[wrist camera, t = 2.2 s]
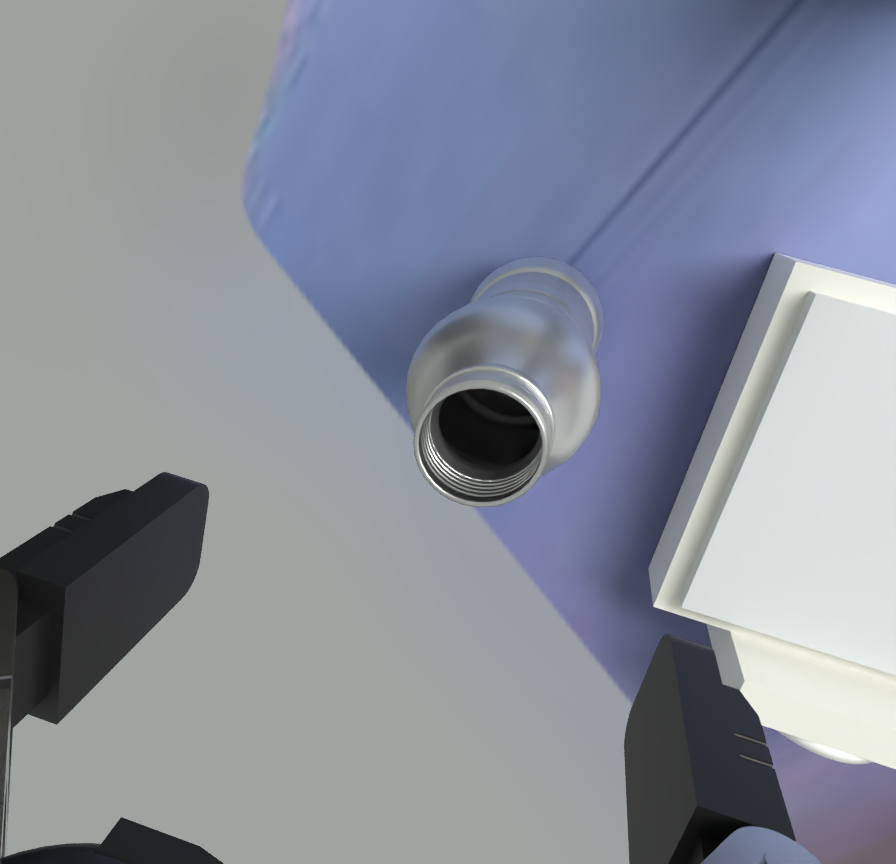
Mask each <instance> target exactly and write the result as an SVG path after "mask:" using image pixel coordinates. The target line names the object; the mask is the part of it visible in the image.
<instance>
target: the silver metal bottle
mask: <svg viewBox="0 0 896 864" xmlns="http://www.w3.org/2000/svg"><path fill="white" fill-rule="evenodd" d="M603 329H604V313H603V308H602V304H601V300H600V298H599V296H598V294H597V291H596V289H595V288H594V287H593V285H592V284H591V282H590V281H589V280H588V278H586V277H585V276H584V275H583V274H582V273H581V272H580V271H579V270H577V269H576V268H574V267H572V266H571V265H569V264H567V263H565V262H562V261H559V260H556V259H553V258H546V257H527V258H521V259H518V260H514V261H511V262H509V263H507V264H505V265H503V266H501V267H499V268H497V269H496V270H495V271H493V272H492V273H491V274H489V275H488V276H487V277H486V278H485V279H484V280H483V282H482V283H481V284H480V285H479V286H478V288H477V289H476V291H475V293H474V294H473V296H472V298H471V301H470V304H468V305H466V306H464V307H461V308H459V309H457V310H455V311H454V312H452V313H450V314H449V315H447V316H446V317H445V318H443V319H442V320H441V321H439V322H438V323H437V324H435V325H434V326H433V328H432V329H431V330H430V331H429V332H428V333H427V334H426V335H425V336H424V338H423V339H422V341H421V342H420V344H419V346H418V348H417V349H416V351H415V353H414V355H413V358H412V361H411V364H410V367H409V370H408V375H407V384H406V395H407V406H408V414H409V417H410V421H411V424H412V427H413V430H414V432H415V434H414V454H415V458H416V461H417V464H418V467H419V469H420V471H421V472H422V474H423V476H424V478H425V479H426V480H427V481H428V482H429V484H430V485H431V486H432V487H433V488H434V489H435V490H437V491H438V492H439V493H440V494H441V495H443V496H445V497H447V498H448V499H450V500H452V501H455V502H458V503H460V504H463V505H468V506H473V507H492V506H498V505H502V504H505V503H508V502H510V501H513V500H515V499H517V498H518V497H520V496H521V495H523V494H525V493H526V492H527V491H528V490H529V489H530V488H531V487H532V486H533V485H534V484H535V483H536V481H537V480H538V478H539V477H540V476H543V475H545V474H546V473H548V472H550V471H551V470H553V469H555V468H556V467H558V466H559V465H561V464H562V463H564V462H565V461H566V460H567V459H568V458H570V457H571V456H572V455H573V454H574V453H575V452H576V451H577V450H578V449H579V448H580V447H581V445H582V444H583V442H584V441H585V440H586V438H587V437H588V436H589V434H590V432H591V430H592V428H593V425H594V423H595V421H596V419H597V415H598V411H599V406H600V401H601V380H600V375H599V371H598V366H597V362H596V358H595V353H596V351H597V349H598V347H599V344H600V342H601V339H602V334H603Z"/></svg>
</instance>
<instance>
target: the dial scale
mask: <svg viewBox="0 0 896 864" xmlns="http://www.w3.org/2000/svg"><path fill="white" fill-rule="evenodd" d="M648 570H649V578H650V585H651V593H652V601H653V607H656V608H659V609H662V610H665V611H668V612H672V613H675V614H678V615H681V616H684V617H687V618H690V619H694V620H697V621H700V622H703V623H706V624H707V628H708V632H709V637H710V641H711V645H712V649H713V650H714V652H715V656H716V660H717V664H718V668H719V672H720V676H721V680H722V684H723V685H727V686H730V687H733V688H736V689H739V690H740V692H741V693H742V694H743V696H744V697H745V698H746V700H747V701H748V702H749V704H750V705H751V706H752V708H753V709H754V710H755V712H756V713H757V714H758V716H759V719H760V722H761V725H763V726H766V727H769V728H772V729H775V730H777V731H779V732H780V733H781V734H783V735H784V736H785V737H787V738H788V739H790V740H791V741H793V742H795V743H796V744H798V745H800V746H802V747H803V748H805V749H807V750H809V751H811V752H814V753H816V754H818V755H820V756H823V757H826V758H828V759H831V760H835V761H838V762H843V763H848V764H867V763H871V762H875V763H878V764H881V765H884V766H888V767H891V768H894V769H896V285H895V284H891V283H887V282H883V281H880V280H876V279H872V278H868V277H865V276H861V275H857V274H854V273H850V272H846V271H842V270H839V269H835V268H831V267H827V266H824V265H820V264H816V263H812V262H809V261H805V260H801V259H798V258H794V257H790V256H786V255H783V254H779V253H775V254H774V257H773V259H772V262H771V264H770V267H769V269H768V272H767V274H766V277H765V279H764V282H763V284H762V287H761V289H760V292H759V294H758V297H757V299H756V302H755V304H754V307H753V309H752V312H751V314H750V316H749V319H748V321H747V324H746V326H745V329H744V331H743V334H742V336H741V339H740V341H739V344H738V346H737V349H736V351H735V354H734V356H733V359H732V361H731V364H730V366H729V369H728V371H727V374H726V376H725V379H724V381H723V384H722V386H721V389H720V391H719V394H718V396H717V399H716V401H715V404H714V406H713V409H712V411H711V414H710V416H709V419H708V421H707V424H706V426H705V429H704V431H703V433H702V436H701V438H700V441H699V443H698V446H697V448H696V451H695V453H694V456H693V458H692V461H691V463H690V466H689V468H688V471H687V473H686V476H685V478H684V481H683V483H682V486H681V488H680V491H679V493H678V496H677V498H676V501H675V503H674V506H673V508H672V511H671V513H670V516H669V518H668V521H667V523H666V526H665V528H664V531H663V533H662V536H661V538H660V541H659V543H658V546H657V548H656V550H655V553H654V555H653V558H652V560H651V563H650V565H649V568H648Z"/></svg>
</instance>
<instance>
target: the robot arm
mask: <svg viewBox="0 0 896 864" xmlns="http://www.w3.org/2000/svg"><path fill="white" fill-rule="evenodd" d="M208 500H209V491H208V488H207V486H206V485H204V484H202V483H198V482H195V481H192V480H189V479H186V478H183V477H180V476H176V475H173V474H170V473H167V472H163V473H160V474H159V475H157V476H156V477H154V478H153V479H151V480H150V481H148V482H147V483H145V484H144V485H142V486H141V487H139V488H138V489H136V490H135V491H129V490H126V489H124V490H121V491H117V492H114V493H110V494H106V495H103V496H99V497H96V498H94V499H92V500H91V501H89V502H88V503H86V504H85V505H83V506H81V507H80V508H78V509H77V510H75V511H73V514H72V515H67V516H66V517H64V518H62V519H61V520H59V521H58V522H56V523H55V525H54V527H49V528H47V529H45V530H43V531H42V532H40V533H39V534H37V535H36V536H34V537H33V538H31V539H29V540H28V541H26V542H25V543H23V544H22V545H20V546H19V547H17V548H15V549H14V550H12V551H10V552H9V553H7V554H6V555H4V556H3V557H1V558H0V864H223V863H222V862H221V861H219V860H218V859H217V858H215V857H213V856H212V855H211V854H210V853H208V852H207V851H205V850H204V849H203V848H201V847H200V846H197V845H195V844H192V843H189V842H187V841H184V840H181V839H178V838H176V837H173V836H170V835H168V834H165V833H162V832H159V831H157V830H154V829H151V828H149V827H146V826H143V825H140V824H138V823H135V822H133V821H130V820H127V819H124V818H122V817H121V818H120V820H119V821H118V822H117V824H116V825H115V826H114V828H113V829H112V830H111V832H110V833H109V834H108V836H107V837H106V838H105V840H104V841H103V842H102V844H94V843H78V844H77V843H76V844H75V843H74V844H61V845H53V846H45V847H40V848H36V849H31V850H27V851H22V852H19V853H16V854H12V855H9V856H6V849H7V830H8V812H9V795H10V776H11V758H12V740H13V727H14V726H15V725H17V724H18V723H19V721H21V720H22V719H23V718H24V717H25V716H26V715H27V714H29V715H32V716H34V717H37V718H40V719H43V720H46V721H48V722H51V723H54V724H58V723H59V722H60V721H61V720H62V719H63V718H64V717H65V716H66V715H67V714H68V713H69V712H70V711H71V710H72V709H73V708H74V707H75V706H76V705H77V704H78V703H79V702H80V701H81V700H82V699H83V698H84V697H85V696H86V695H87V694H88V693H89V692H90V691H91V690H92V689H93V688H94V687H95V686H96V684H98V683H99V681H100V680H102V679H103V677H104V676H105V675H106V674H107V673H108V672H109V671H110V670H111V669H112V668H113V667H114V666H115V665H116V664H117V663H118V662H119V661H120V660H121V659H122V658H123V657H124V656H125V655H126V654H127V653H128V652H129V651H130V650H131V649H132V648H133V647H134V646H135V645H136V644H137V643H138V642H139V641H140V640H141V639H142V638H143V637H144V636H145V635H146V634H147V633H148V632H149V631H150V630H151V629H152V628H153V627H154V626H155V625H156V624H157V623H158V622H159V621H160V620H161V619H162V618H163V617H164V616H165V615H166V614H167V613H168V612H169V611H170V610H171V609H172V608H173V607H174V606H175V605H176V604H177V603H178V602H179V601H180V600H181V599H182V598H183V597H184V596H185V594H186V593H187V592H188V590H189V588H190V587H191V585H192V583H193V581H194V579H195V576H196V574H197V571H198V568H199V563H200V557H201V550H202V543H203V535H204V529H205V521H206V514H207V507H208ZM624 750H625V752H624V753H625V774H626V795H627V818H628V840H629V861H630V864H821V863H820V862H819V861H818V860H817V859H816V858H815V857H814V856H813V855H812V854H811V853H810V852H809V851H807V850H806V849H805V848H803V847H802V846H801V845H799V844H798V843H797V842H796V839H795V836H794V833H793V829H792V826H791V822H790V819H789V816H788V812H787V809H786V806H785V802H784V799H783V796H782V792H781V789H780V786H779V782H778V779H777V776H776V772H775V769H772V765H773V762H772V759H771V755H770V752H769V749H768V747H766V739H765V735H764V732H763V729H762V725H761V722H760V719H759V716H758V714H757V713H756V712H755V710H754V709H753V708H752V706H751V705H750V704H749V702H748V701H747V700H746V698H745V697H744V696H743V694H742V693H741V692H740V690H739V689H736V688H733V687H730V686H727V685H723V684H722V680H721V676H720V672H719V668H718V664H717V660H716V656H715V652H714V650H713V649H712V648H710V647H707V646H704V645H701V644H697V643H694V642H691V641H688V640H685V639H682V638H679V637H676V636H672V635H669V634H666V635H664V636H663V638H662V639H661V641H660V642H659V645H658V647H657V649H656V651H655V654H654V656H653V659H652V661H651V663H650V666H649V668H648V670H647V673H646V675H645V677H644V680H643V682H642V684H641V687H640V689H639V692H638V694H637V696H636V699H635V701H634V703H633V706H632V708H631V711H630V714H629V718H628V722H627V727H626V733H625V741H624Z"/></svg>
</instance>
